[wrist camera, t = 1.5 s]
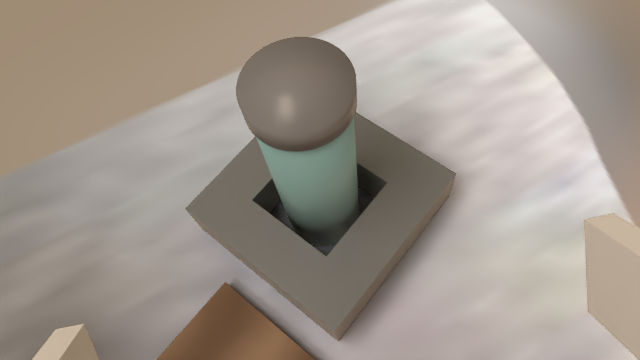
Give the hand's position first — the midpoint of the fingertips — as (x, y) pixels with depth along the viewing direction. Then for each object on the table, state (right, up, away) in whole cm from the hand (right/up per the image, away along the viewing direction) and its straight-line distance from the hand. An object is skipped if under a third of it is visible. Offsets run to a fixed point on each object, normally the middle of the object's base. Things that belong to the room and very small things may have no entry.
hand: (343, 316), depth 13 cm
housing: (0, +1, +26) cm, 26 cm away
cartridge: (0, +1, +26) cm, 26 cm away
